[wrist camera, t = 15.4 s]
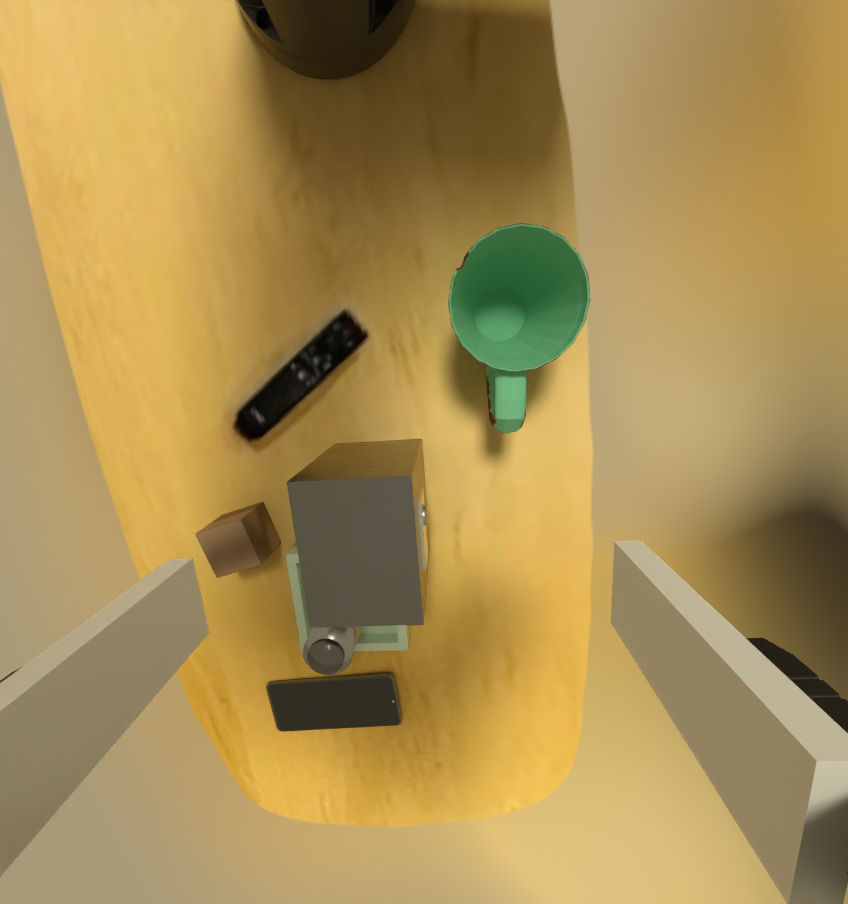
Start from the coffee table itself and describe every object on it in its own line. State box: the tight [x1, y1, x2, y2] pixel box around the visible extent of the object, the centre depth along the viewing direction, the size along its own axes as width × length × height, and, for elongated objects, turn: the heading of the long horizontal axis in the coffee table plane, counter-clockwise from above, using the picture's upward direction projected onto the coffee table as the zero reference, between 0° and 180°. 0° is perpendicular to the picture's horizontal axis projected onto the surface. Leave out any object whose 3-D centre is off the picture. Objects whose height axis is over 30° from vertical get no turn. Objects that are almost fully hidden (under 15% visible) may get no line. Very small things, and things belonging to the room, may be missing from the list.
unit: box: [287, 439, 430, 628], centre depth 36 cm, size 12×10×13 cm
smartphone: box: [266, 673, 402, 731], centre depth 49 cm, size 7×1×16 cm
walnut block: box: [195, 502, 281, 578], centre depth 42 cm, size 5×5×5 cm
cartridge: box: [303, 626, 362, 675], centre depth 39 cm, size 4×4×10 cm
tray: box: [285, 544, 410, 653], centre depth 44 cm, size 12×12×2 cm
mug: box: [448, 223, 590, 433], centre depth 33 cm, size 15×10×10 cm
